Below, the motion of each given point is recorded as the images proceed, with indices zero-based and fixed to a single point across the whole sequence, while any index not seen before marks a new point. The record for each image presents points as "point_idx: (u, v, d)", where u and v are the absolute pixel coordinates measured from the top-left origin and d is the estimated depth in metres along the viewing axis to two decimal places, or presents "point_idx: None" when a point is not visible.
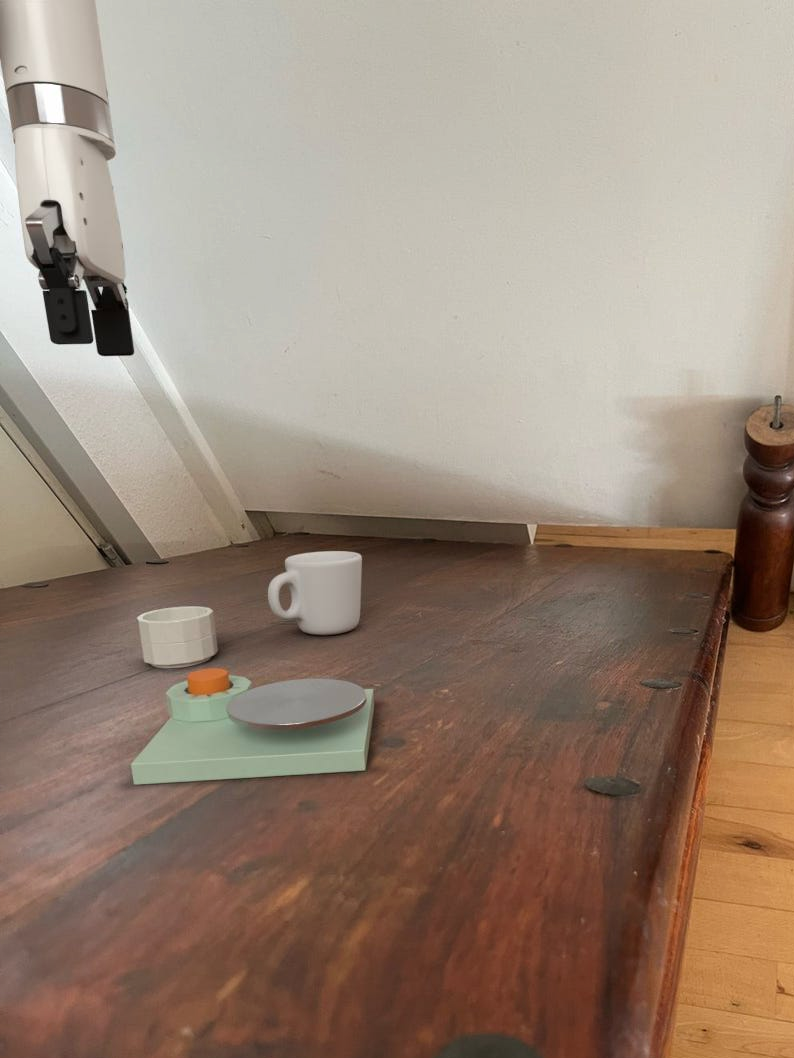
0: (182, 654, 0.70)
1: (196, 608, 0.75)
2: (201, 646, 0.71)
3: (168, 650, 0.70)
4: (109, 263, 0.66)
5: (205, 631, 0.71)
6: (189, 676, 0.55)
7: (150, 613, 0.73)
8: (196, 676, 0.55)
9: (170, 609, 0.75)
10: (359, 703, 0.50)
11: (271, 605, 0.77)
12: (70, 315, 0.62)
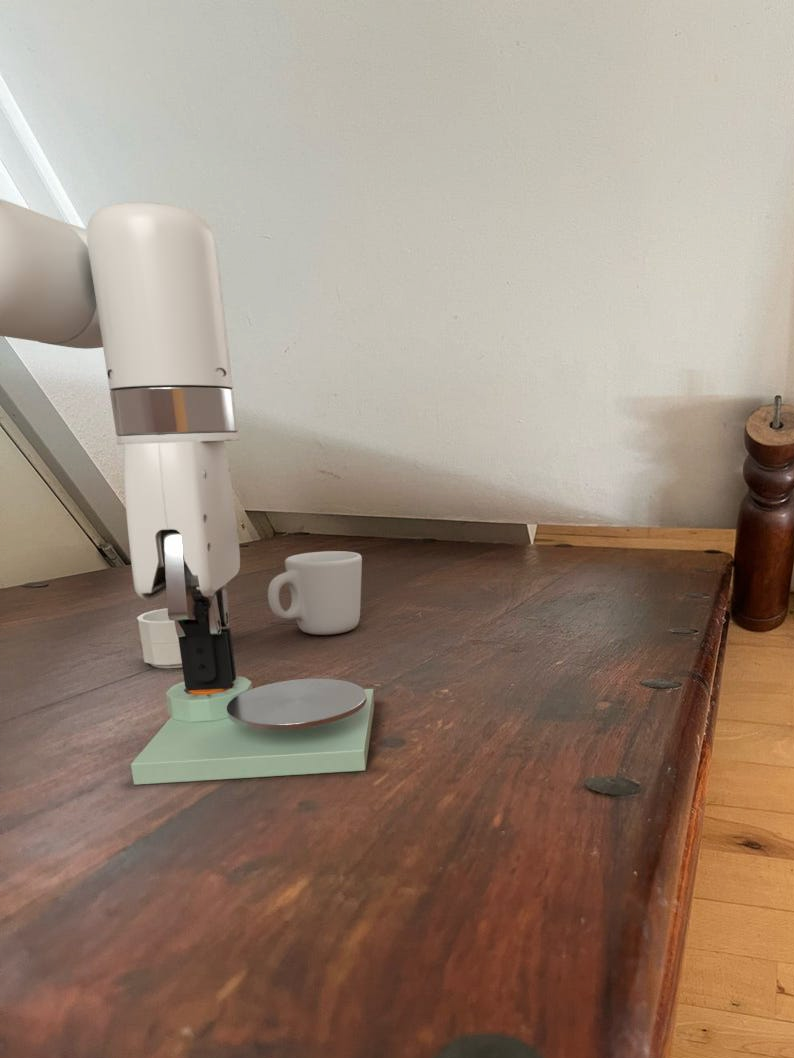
0: None
1: None
2: None
3: (168, 650, 0.70)
4: (228, 571, 0.53)
5: None
6: None
7: (150, 613, 0.73)
8: None
9: None
10: (359, 703, 0.50)
11: (271, 605, 0.77)
12: (210, 664, 0.53)
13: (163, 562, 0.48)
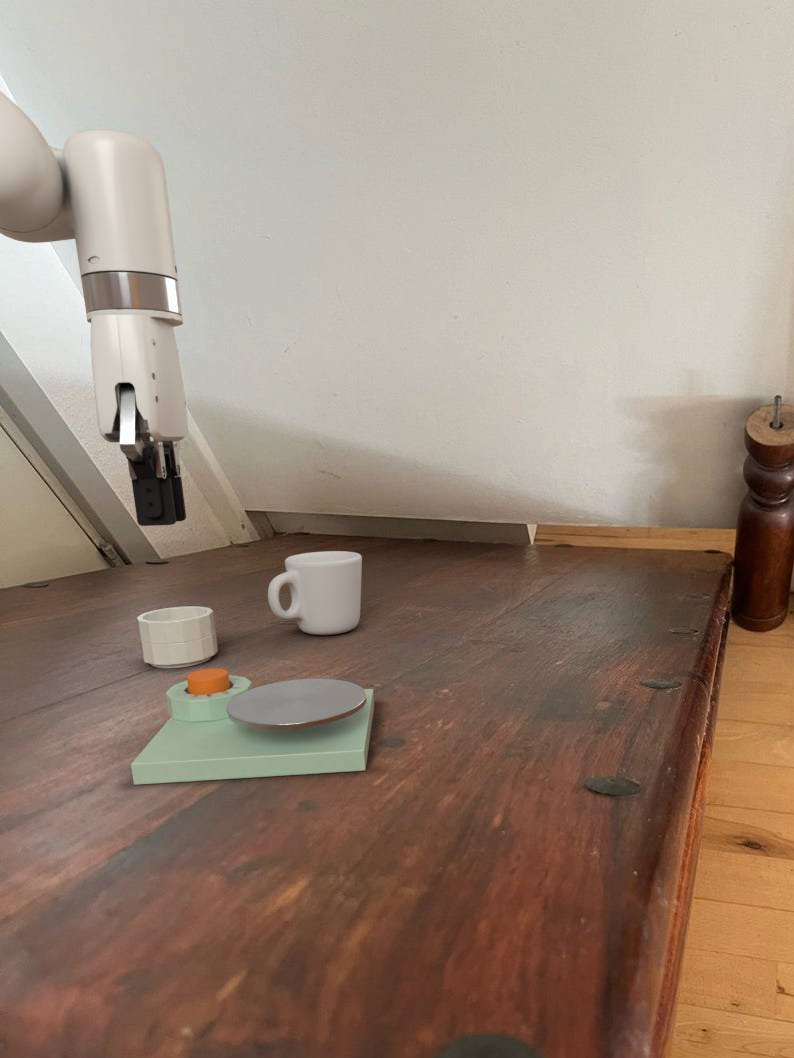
0: (182, 654, 0.70)
1: (196, 608, 0.75)
2: (201, 646, 0.71)
3: (168, 650, 0.70)
4: (175, 428, 0.68)
5: (205, 631, 0.71)
6: (189, 676, 0.55)
7: (150, 613, 0.73)
8: (196, 676, 0.55)
9: (170, 609, 0.75)
10: (359, 703, 0.50)
11: (271, 605, 0.77)
12: (157, 502, 0.67)
13: None
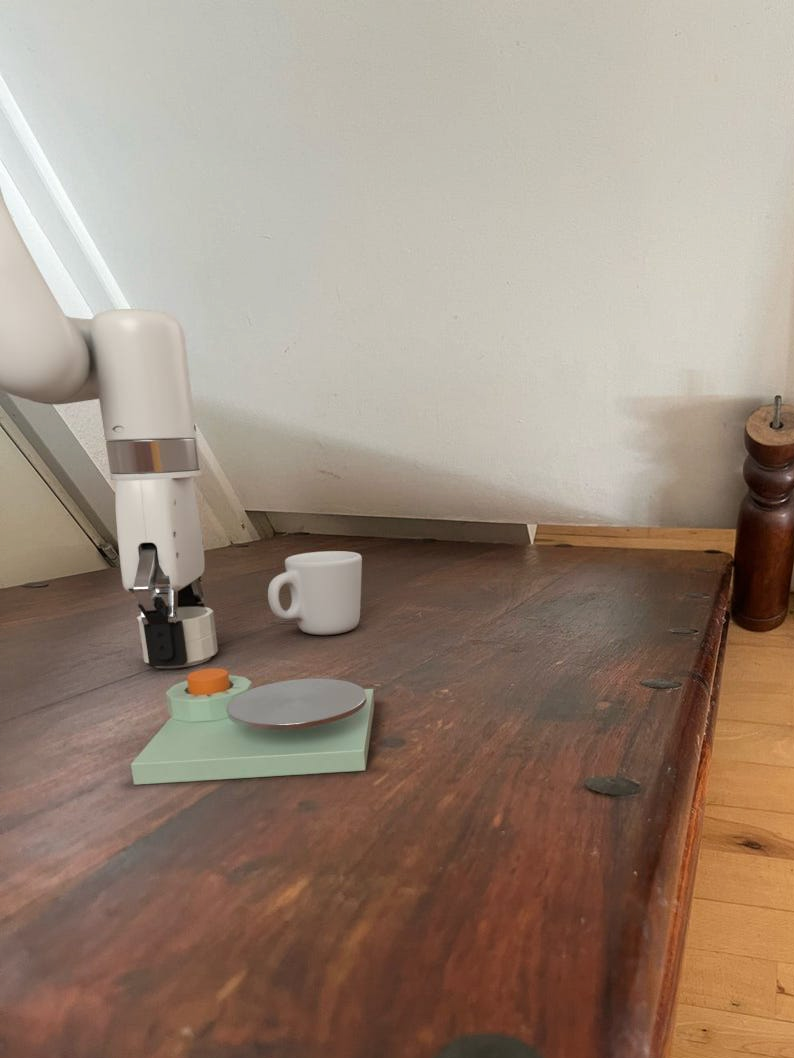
0: None
1: (196, 608, 0.75)
2: (201, 646, 0.71)
3: None
4: (194, 572, 0.71)
5: (205, 631, 0.71)
6: (189, 676, 0.55)
7: None
8: (196, 676, 0.55)
9: None
10: (359, 703, 0.50)
11: (271, 605, 0.77)
12: (168, 646, 0.68)
13: None
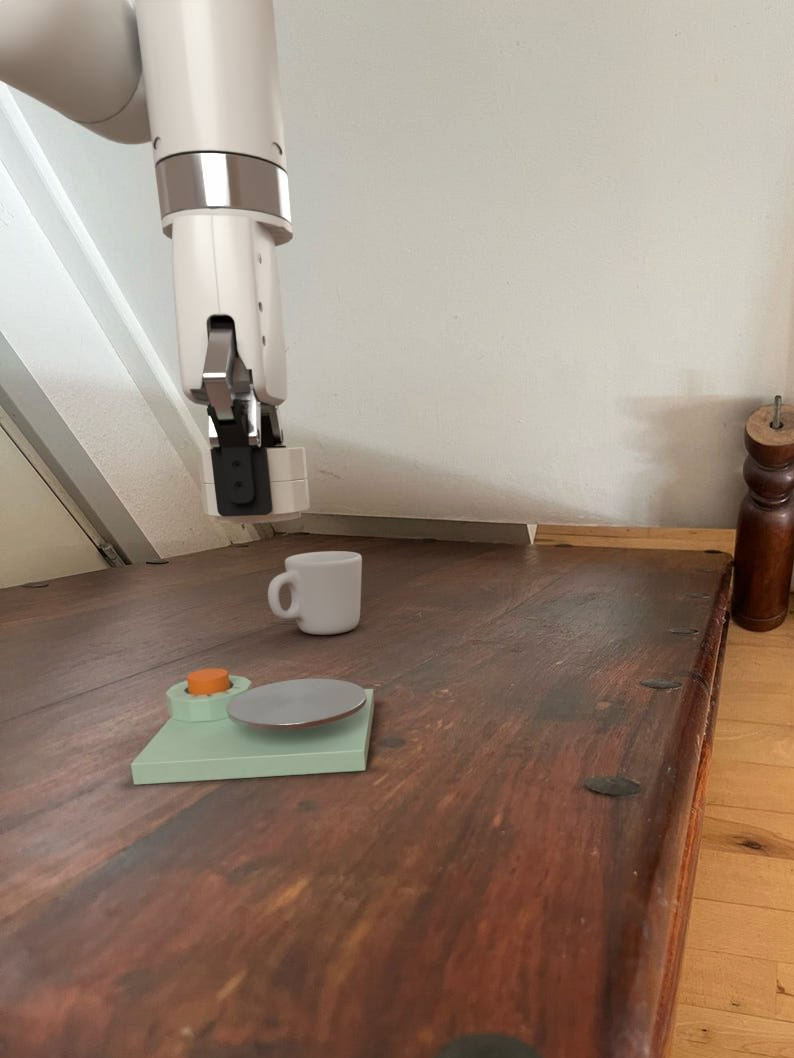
0: None
1: None
2: (291, 491, 0.49)
3: None
4: (279, 386, 0.49)
5: (297, 471, 0.49)
6: (189, 676, 0.55)
7: None
8: (196, 676, 0.55)
9: None
10: (359, 703, 0.50)
11: (271, 605, 0.77)
12: (248, 482, 0.46)
13: None
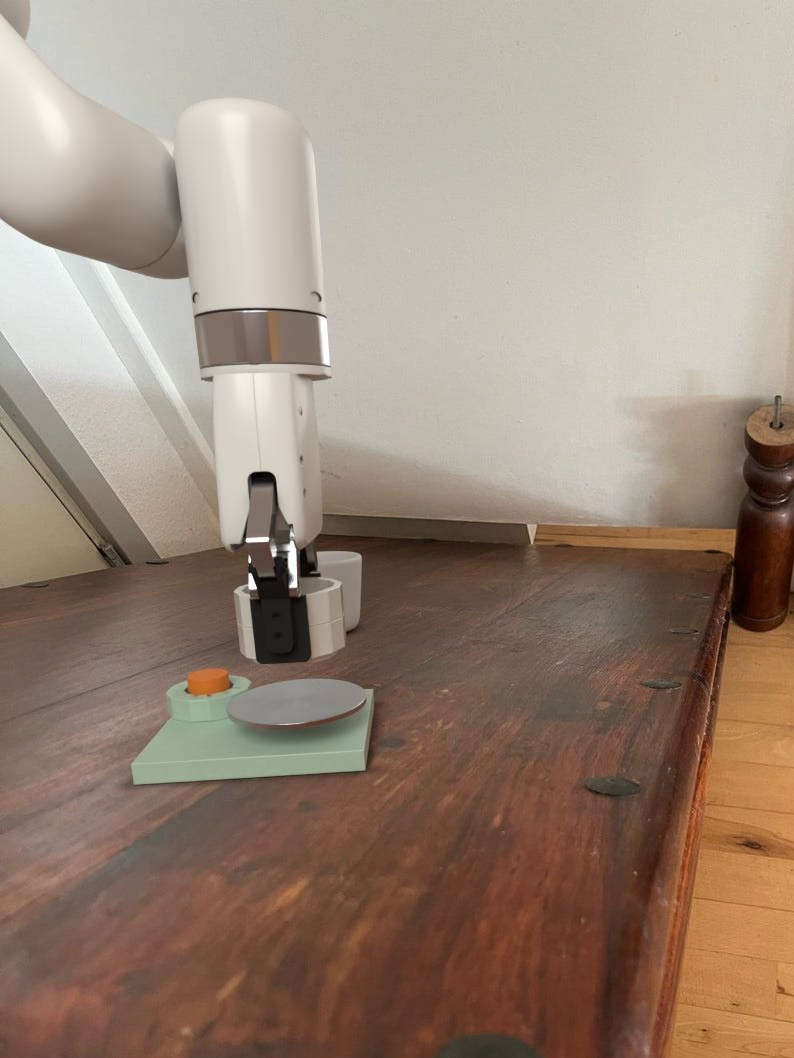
0: None
1: (313, 579, 0.52)
2: (330, 633, 0.48)
3: None
4: (317, 524, 0.48)
5: (335, 611, 0.48)
6: (189, 676, 0.55)
7: None
8: (196, 676, 0.55)
9: None
10: (359, 703, 0.50)
11: None
12: (288, 632, 0.45)
13: None
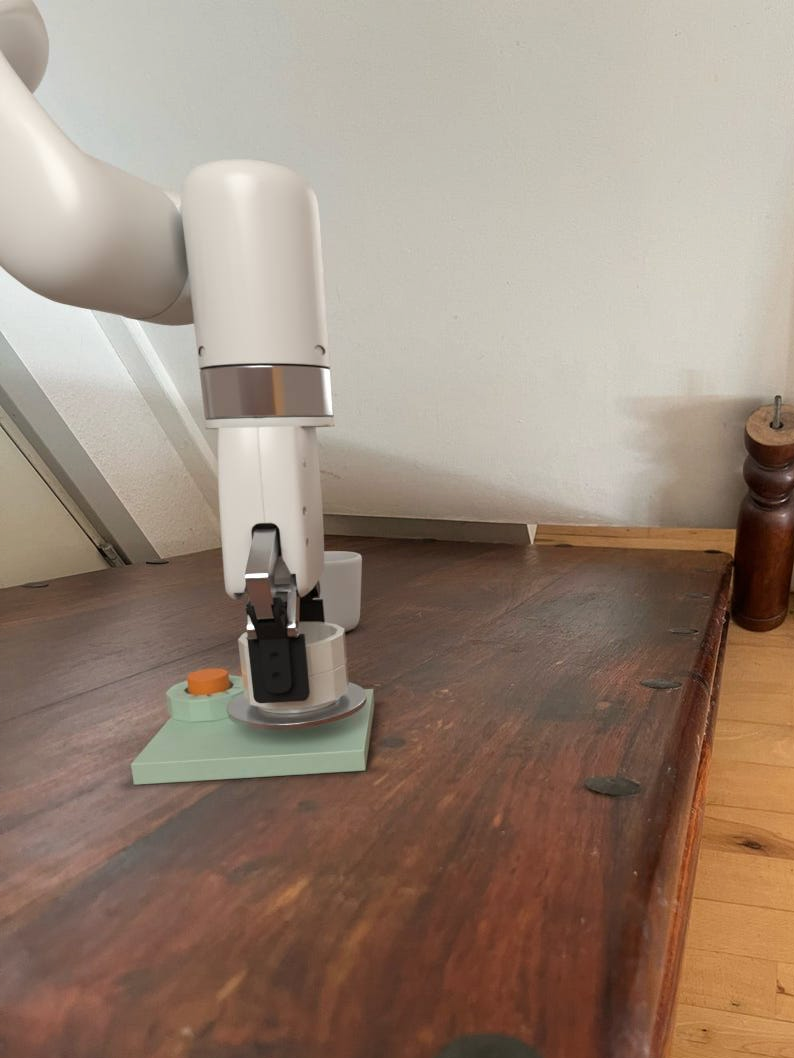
0: None
1: (316, 624, 0.52)
2: (333, 680, 0.49)
3: None
4: (319, 569, 0.49)
5: (338, 659, 0.49)
6: (189, 676, 0.55)
7: None
8: (196, 676, 0.55)
9: None
10: (359, 703, 0.50)
11: None
12: (286, 672, 0.44)
13: None
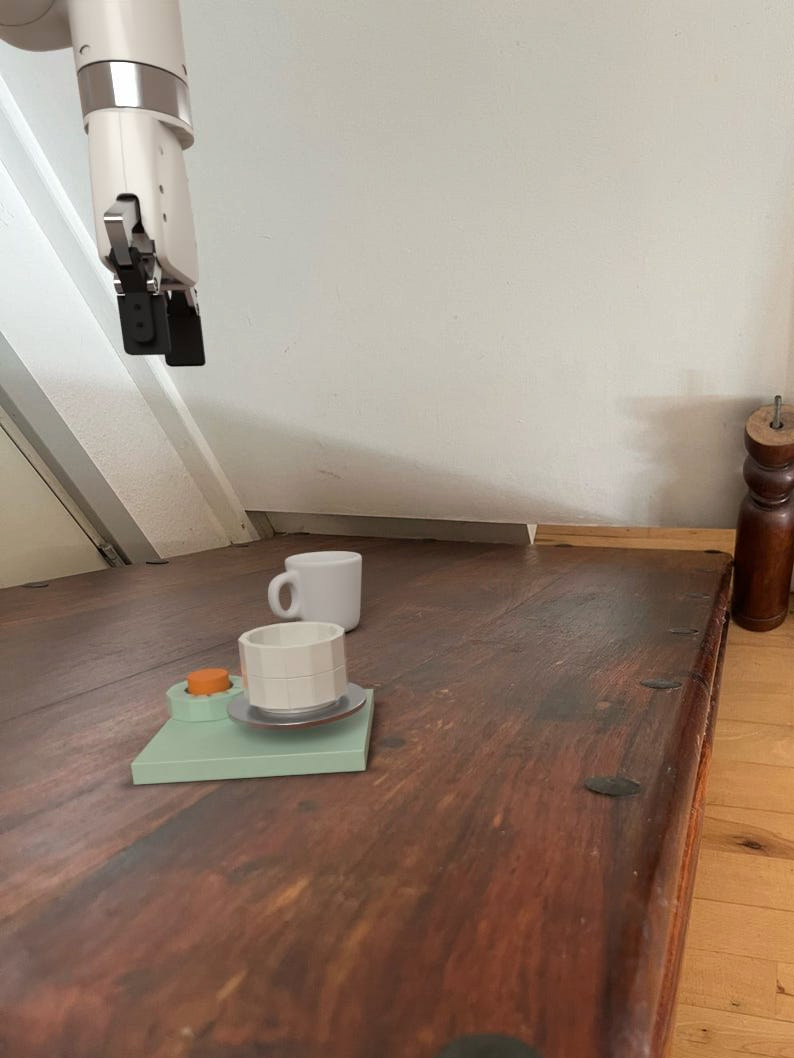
0: (308, 693, 0.48)
1: (316, 624, 0.52)
2: (333, 680, 0.49)
3: (288, 688, 0.47)
4: (186, 264, 0.60)
5: (338, 659, 0.49)
6: (189, 676, 0.55)
7: (254, 632, 0.51)
8: (196, 676, 0.55)
9: (280, 626, 0.52)
10: (359, 703, 0.50)
11: (271, 605, 0.77)
12: (148, 323, 0.55)
13: None
